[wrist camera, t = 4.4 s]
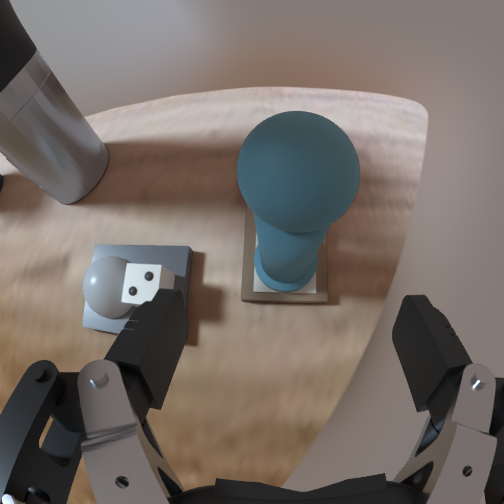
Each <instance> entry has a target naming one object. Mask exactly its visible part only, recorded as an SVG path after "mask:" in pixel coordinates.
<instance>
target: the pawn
mask: <svg viewBox="0 0 504 504" xmlns="http://www.w3.org/2000/svg"><path fill="white" fill-rule="evenodd" d="M237 179H238V185H239V188H240V191H241V194H242V196H243V198H244V200H245V202H246V203H247V205H248V206H249V207H250V209H251V210H252V211H253V212H254V219H255V226H256V232H257V239H258V245H257V247H256V250H255V254H254V264H255V269H256V272H257V275H258V277H259V278H260V280H261V281H262V282H263V283H264V284H265V285H266V286H267V287H269V288H270V289H272V290H275V291H278V292H293V291H297V290H299V289H301V288H303V287H304V286H305V285H306V284H307V283H308V282H309V281H310V280H311V278H312V277H313V275H314V273H315V271H316V269H317V264H318V255H317V252H318V250H319V248H320V246H321V244H322V242H323V240H324V238H325V236H326V233H327V231H328V229H329V227H330V225H331V224H332V223H334V222H335V221H336V220H338V219H339V218H340V217H341V216H342V215H343V214H344V213H345V212H346V211H347V210H348V208H349V207H350V205H351V204H352V202H353V201H354V198H355V196H356V193H357V191H358V186H359V181H360V167H359V160H358V156H357V153H356V150H355V148H354V146H353V144H352V142H351V141H350V139H349V138H348V136H347V135H346V134H345V133H344V131H343V130H342V129H341V128H339V127H338V126H337V125H336V124H335V123H333V122H332V121H330V120H329V119H327V118H325V117H323V116H320V115H318V114H314V113H310V112H305V111H289V112H283V113H279V114H276V115H274V116H272V117H269V118H267V119H266V120H264V121H262V122H261V123H260V124H258V125H257V126H256V127H255V128H254V129H253V130H252V131H251V132H250V134H249V135H248V136H247V138H246V139H245V141H244V143H243V145H242V147H241V150H240V153H239V156H238V161H237Z"/></svg>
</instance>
